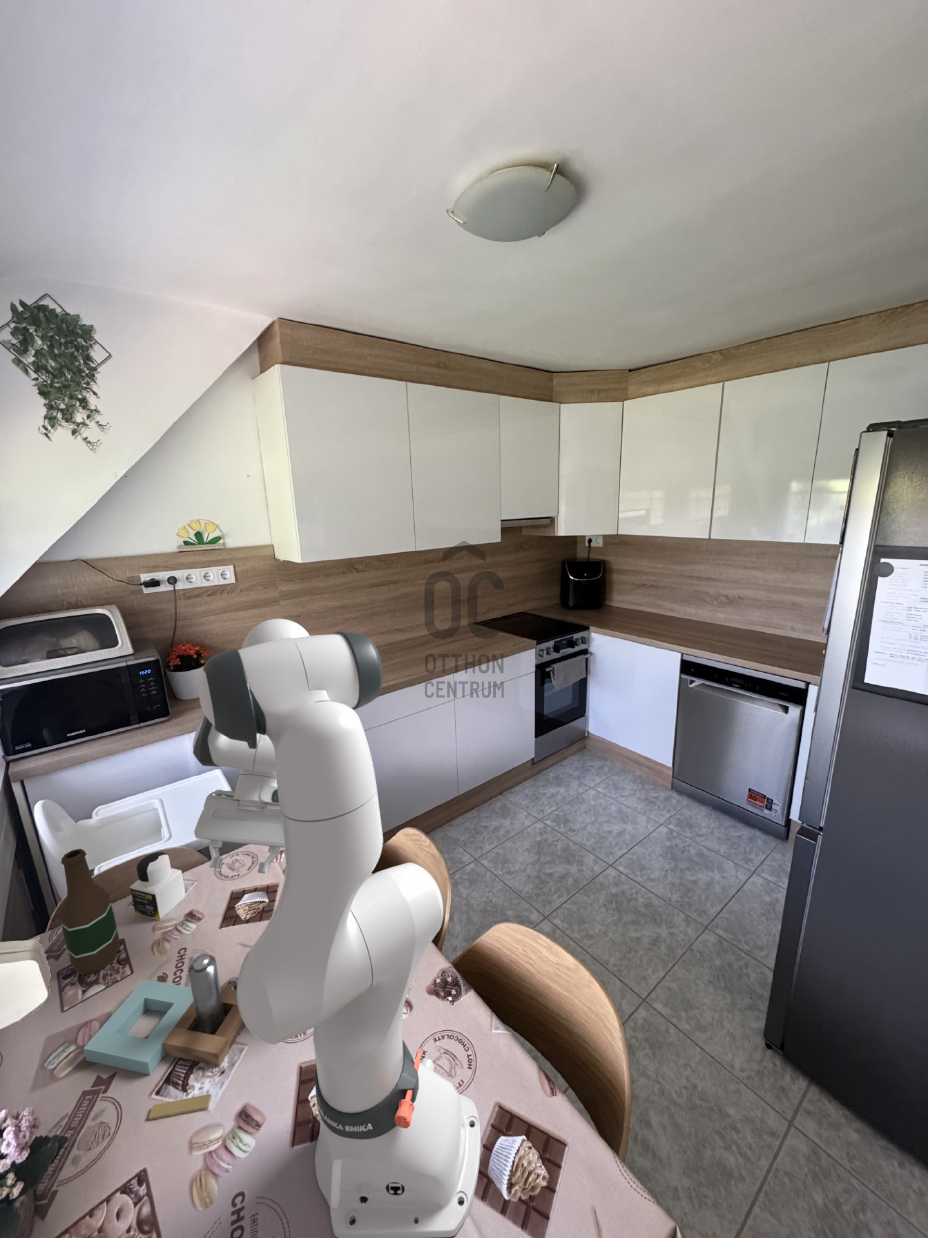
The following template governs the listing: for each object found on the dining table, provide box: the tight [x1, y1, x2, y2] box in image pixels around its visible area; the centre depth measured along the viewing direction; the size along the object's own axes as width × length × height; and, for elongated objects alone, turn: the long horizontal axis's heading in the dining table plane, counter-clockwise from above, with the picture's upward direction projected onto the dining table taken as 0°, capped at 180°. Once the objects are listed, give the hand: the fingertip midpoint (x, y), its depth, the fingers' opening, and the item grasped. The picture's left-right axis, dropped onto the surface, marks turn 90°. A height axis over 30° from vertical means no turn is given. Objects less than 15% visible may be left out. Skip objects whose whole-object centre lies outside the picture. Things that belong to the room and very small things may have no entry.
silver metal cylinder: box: [187, 953, 226, 1035], centre depth 82 cm, size 4×4×14 cm
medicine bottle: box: [129, 851, 187, 921], centre depth 109 cm, size 7×7×12 cm
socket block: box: [163, 986, 246, 1067], centre depth 83 cm, size 10×10×2 cm
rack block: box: [83, 979, 194, 1076], centre depth 84 cm, size 12×12×2 cm
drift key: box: [148, 1093, 212, 1121], centre depth 73 cm, size 8×2×1 cm, turn 99°
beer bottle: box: [59, 848, 121, 977], centre depth 95 cm, size 8×8×24 cm
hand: (238, 870), depth 93 cm, fingers open, 8 cm apart
